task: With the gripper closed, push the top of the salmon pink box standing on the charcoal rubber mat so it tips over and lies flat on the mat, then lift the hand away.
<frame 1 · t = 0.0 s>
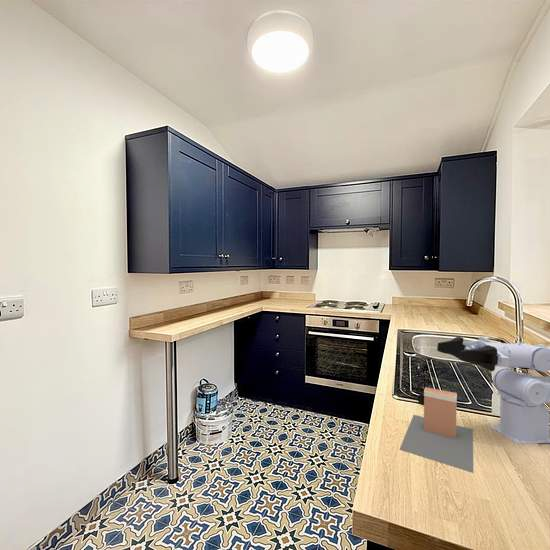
hand: (448, 351, 72), 22 cm above the counter, fingers open, 7 cm apart
salmon pink box: (439, 431, 75), resting on charcoal mat
charcoal mat: (438, 440, 72), on the counter
tape measure: (430, 406, 91), on the counter
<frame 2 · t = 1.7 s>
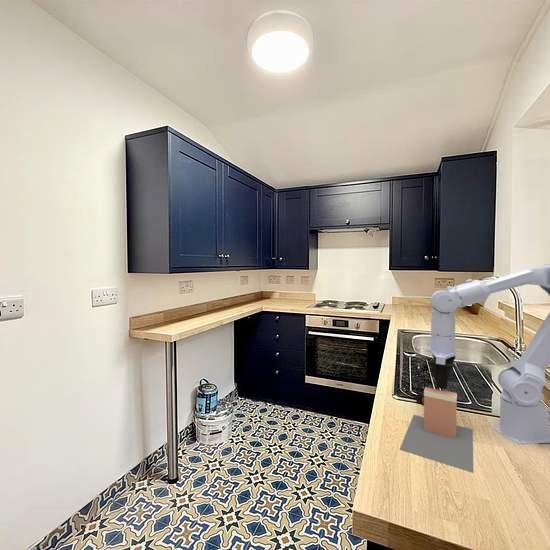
hand: (442, 384, 81), 10 cm above the counter, fingers open, 6 cm apart
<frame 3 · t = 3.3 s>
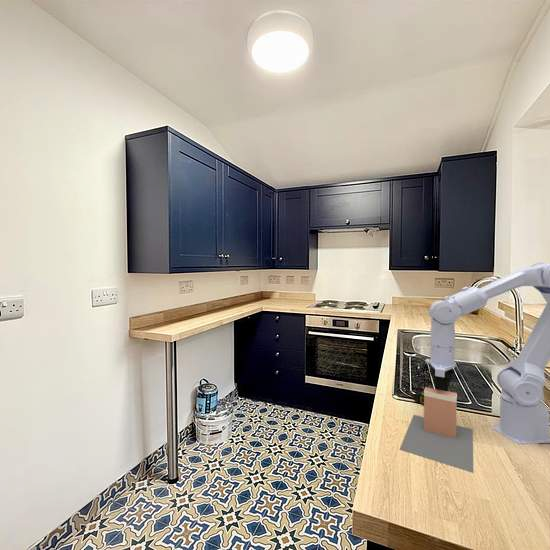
hand: (441, 396, 80), 8 cm above the counter, fingers closed
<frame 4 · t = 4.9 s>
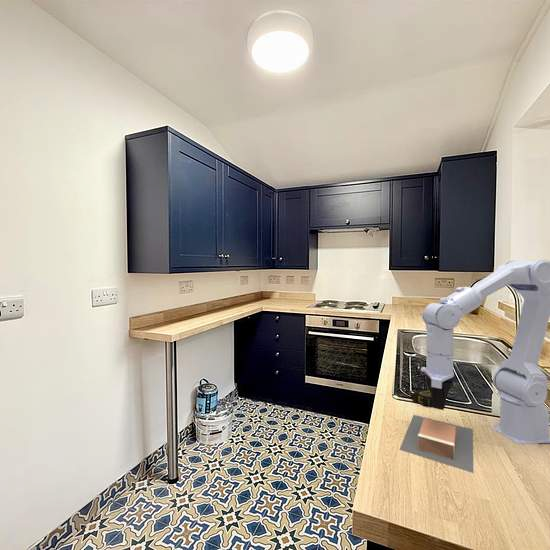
hand: (438, 408, 72), 8 cm above the counter, fingers closed
salmon pink box: (439, 428, 74), point 2 cm above the counter, tilted 90°, touching charcoal mat
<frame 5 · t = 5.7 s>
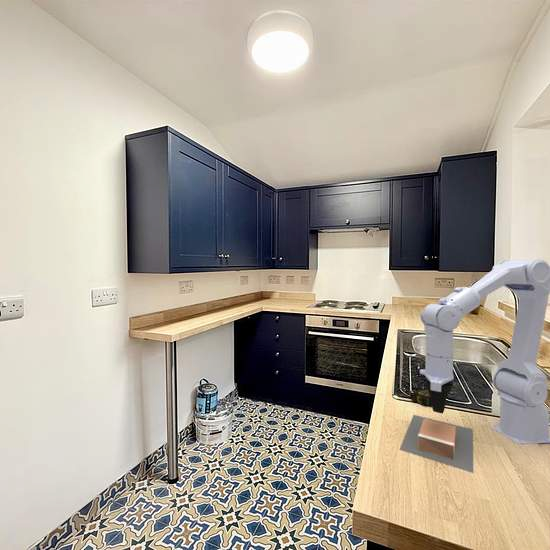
hand: (438, 411, 71), 8 cm above the counter, fingers closed
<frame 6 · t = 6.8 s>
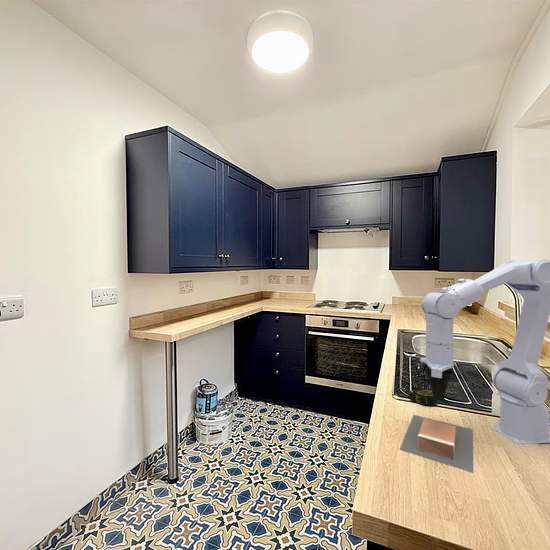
hand: (438, 398, 71), 10 cm above the counter, fingers closed
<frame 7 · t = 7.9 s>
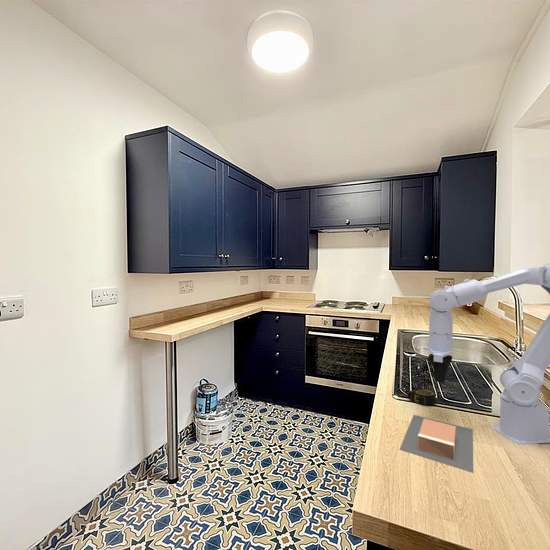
hand: (440, 381, 83), 10 cm above the counter, fingers closed
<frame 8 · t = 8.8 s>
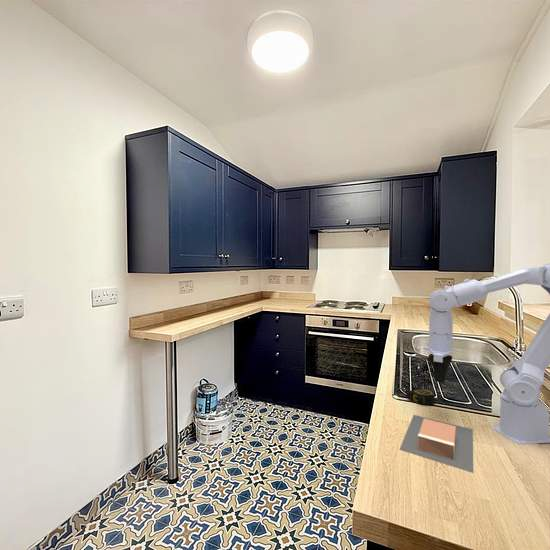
hand: (440, 381, 83), 10 cm above the counter, fingers closed
at the end: salmon pink box tilted 90°; salmon pink box inside the target area on the charcoal mat (2.5 cm from its centre), point 1.9 cm above the charcoal mat's base; the gripper is holding nothing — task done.
